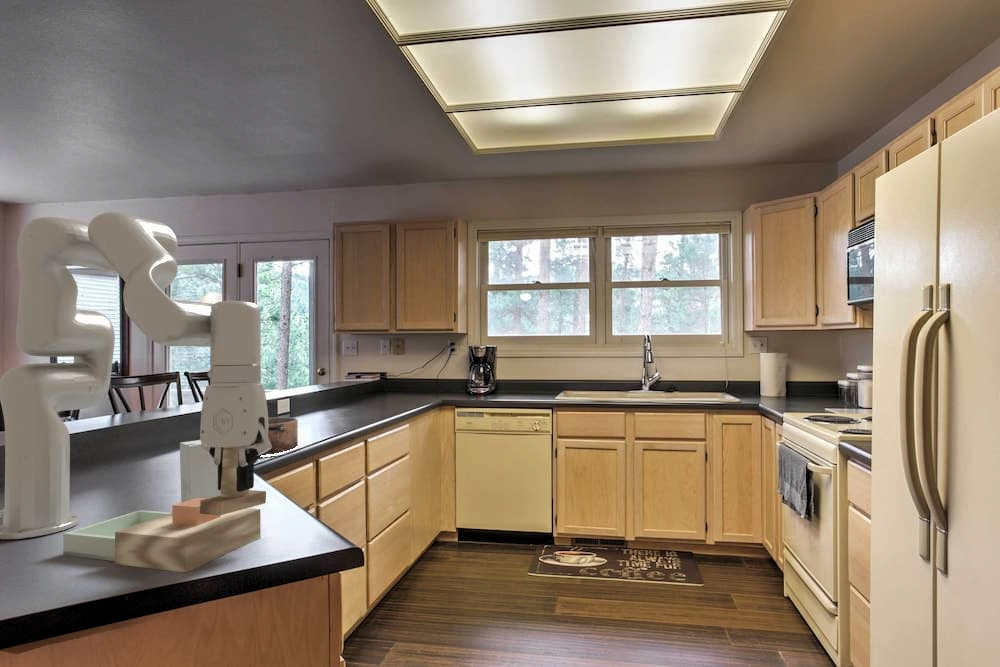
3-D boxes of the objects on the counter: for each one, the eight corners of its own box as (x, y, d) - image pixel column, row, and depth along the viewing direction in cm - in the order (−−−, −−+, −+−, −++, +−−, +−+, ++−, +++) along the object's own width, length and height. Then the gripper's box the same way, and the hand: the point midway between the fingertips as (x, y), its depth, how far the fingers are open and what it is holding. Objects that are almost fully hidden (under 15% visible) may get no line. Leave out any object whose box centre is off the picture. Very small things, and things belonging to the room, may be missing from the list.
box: (63, 555, 91) (63, 533, 91) (140, 528, 105) (140, 510, 105) (118, 561, 88) (118, 539, 88) (190, 533, 101) (190, 514, 101)
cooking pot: (304, 456, 178) (304, 423, 179) (227, 464, 168) (227, 428, 168) (291, 444, 205) (290, 414, 205) (223, 450, 194) (223, 419, 194)
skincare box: (220, 504, 122) (220, 436, 122) (231, 508, 117) (231, 438, 118) (178, 512, 115) (178, 440, 116) (188, 518, 111) (188, 443, 112)
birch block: (114, 564, 87) (115, 531, 87) (197, 531, 102) (197, 504, 102) (185, 572, 83) (185, 538, 83) (260, 537, 98) (260, 509, 98)
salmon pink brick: (172, 523, 91) (172, 505, 91) (197, 515, 95) (197, 497, 96) (196, 525, 89) (196, 507, 89) (220, 517, 94) (220, 499, 94)
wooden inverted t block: (199, 513, 86) (204, 441, 87) (246, 501, 95) (249, 437, 96) (220, 515, 84) (225, 442, 86) (265, 503, 94) (268, 437, 95)
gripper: (177, 377, 90) (176, 492, 89) (261, 377, 85) (261, 497, 84) (213, 375, 97) (213, 481, 96) (292, 375, 92) (293, 486, 92)
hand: (235, 487), depth 90 cm, fingers closed on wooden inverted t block, 3 cm apart
